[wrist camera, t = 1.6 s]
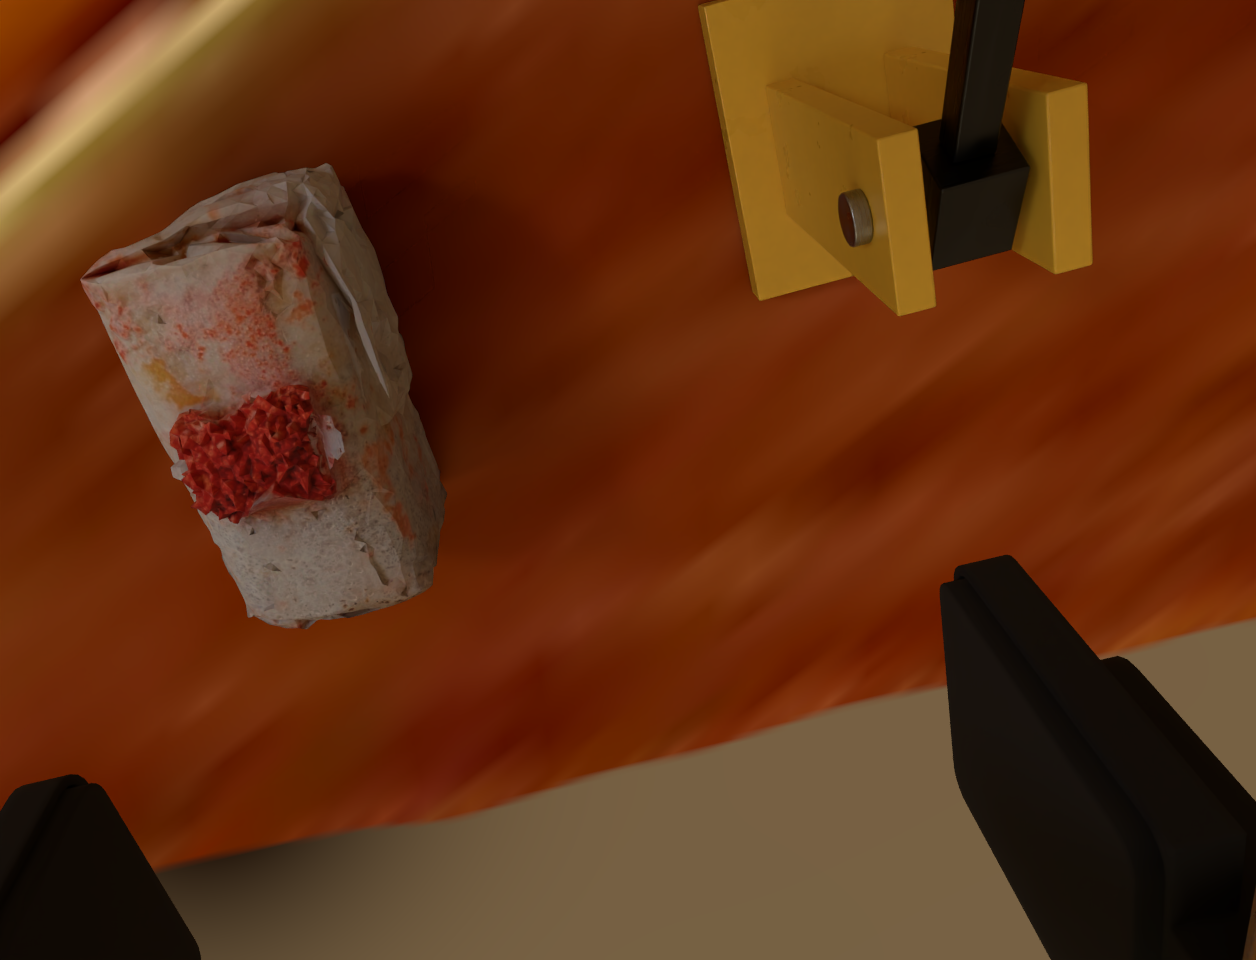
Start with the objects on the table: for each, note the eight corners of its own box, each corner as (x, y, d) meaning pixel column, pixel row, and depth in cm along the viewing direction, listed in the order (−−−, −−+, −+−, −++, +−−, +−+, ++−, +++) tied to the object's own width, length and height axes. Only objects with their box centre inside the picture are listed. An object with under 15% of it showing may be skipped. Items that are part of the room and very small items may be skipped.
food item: (125, 204, 35) (-5, 286, 26) (351, 135, 34) (296, 196, 26) (292, 538, 41) (232, 695, 32) (484, 482, 41) (476, 625, 32)
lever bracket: (697, 5, 34) (793, 27, 22) (934, -60, 34) (1152, -71, 22) (752, 292, 38) (855, 431, 27) (960, 236, 38) (1153, 352, 27)
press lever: (908, -301, 18) (980, -219, 16) (1085, -350, 18) (1176, -274, 16) (874, 205, 28) (917, 288, 26) (988, 174, 28) (1037, 256, 26)
